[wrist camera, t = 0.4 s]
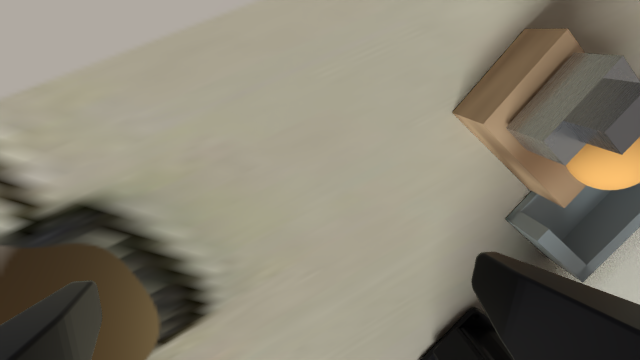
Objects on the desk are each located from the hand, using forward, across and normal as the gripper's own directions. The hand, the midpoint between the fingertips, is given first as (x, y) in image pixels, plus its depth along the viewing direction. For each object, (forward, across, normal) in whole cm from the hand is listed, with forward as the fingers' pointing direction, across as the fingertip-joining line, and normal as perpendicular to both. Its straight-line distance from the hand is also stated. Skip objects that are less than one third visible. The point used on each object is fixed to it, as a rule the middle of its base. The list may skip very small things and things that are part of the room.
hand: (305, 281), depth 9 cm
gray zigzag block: (+10, -14, -3) cm, 17 cm away
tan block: (+13, -16, -2) cm, 21 cm away
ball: (+8, -17, -1) cm, 19 cm away
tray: (+13, -22, +3) cm, 26 cm away
